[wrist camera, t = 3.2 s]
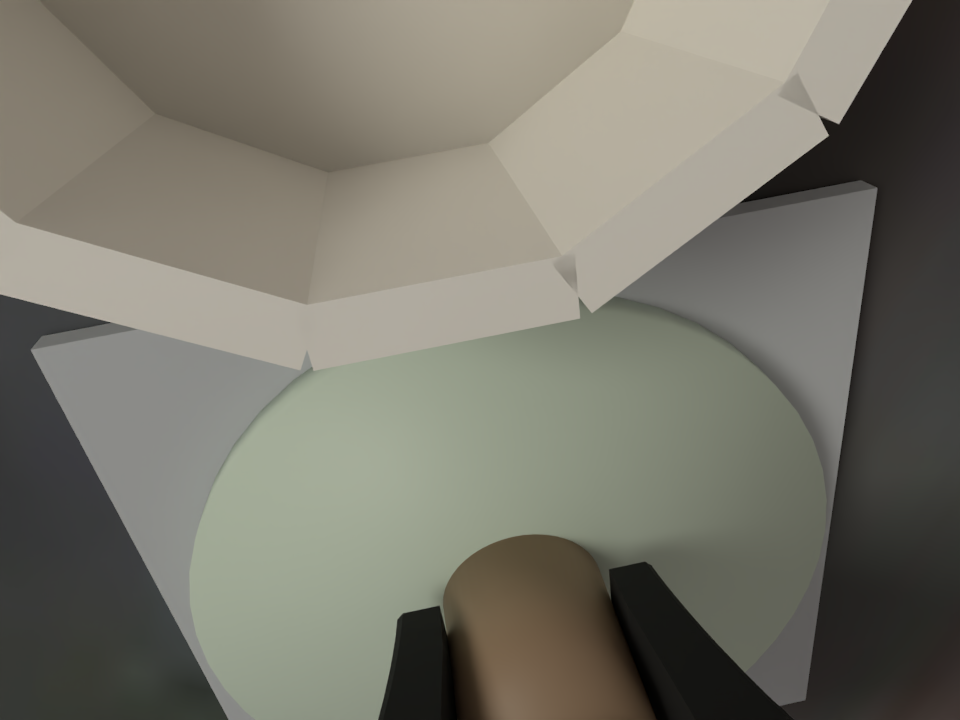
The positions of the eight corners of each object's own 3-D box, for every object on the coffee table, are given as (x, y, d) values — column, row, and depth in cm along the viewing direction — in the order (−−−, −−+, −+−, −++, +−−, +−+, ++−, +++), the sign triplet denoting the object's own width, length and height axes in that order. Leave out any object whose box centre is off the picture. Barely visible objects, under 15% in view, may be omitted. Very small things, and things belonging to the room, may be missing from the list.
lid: (786, 690, 16) (894, 879, 13) (298, 801, 16) (282, 1027, 12) (839, 225, 11) (1053, 350, 7) (81, 375, 10) (-55, 581, 7)
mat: (796, 684, 17) (805, 700, 16) (283, 800, 16) (281, 818, 16) (861, 180, 11) (877, 187, 10) (41, 336, 10) (31, 349, 10)
